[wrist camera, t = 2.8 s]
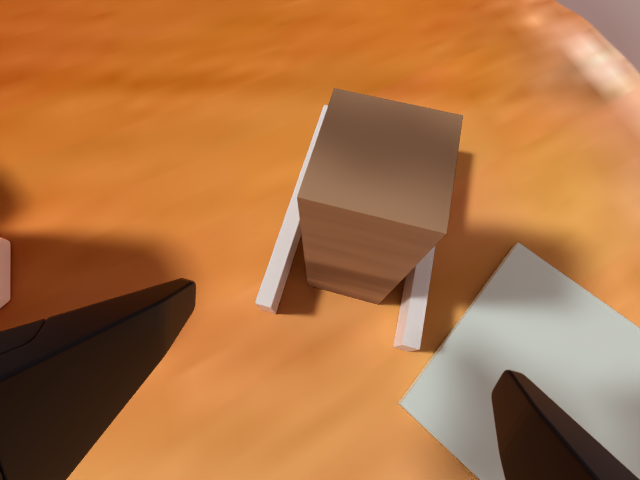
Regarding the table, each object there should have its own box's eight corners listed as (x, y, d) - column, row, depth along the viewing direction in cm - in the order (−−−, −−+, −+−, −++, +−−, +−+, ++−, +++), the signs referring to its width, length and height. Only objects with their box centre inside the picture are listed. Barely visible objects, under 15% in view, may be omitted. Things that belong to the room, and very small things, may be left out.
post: (378, 304, 22) (446, 234, 10) (307, 285, 22) (296, 196, 11) (391, 238, 24) (463, 115, 12) (326, 222, 24) (334, 88, 13)
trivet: (618, 611, 16) (629, 619, 16) (397, 403, 20) (400, 404, 19) (711, 386, 20) (722, 387, 20) (513, 245, 24) (518, 242, 23)
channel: (408, 351, 21) (419, 349, 18) (261, 309, 22) (255, 303, 19) (440, 153, 26) (452, 132, 24) (323, 127, 27) (323, 104, 25)
